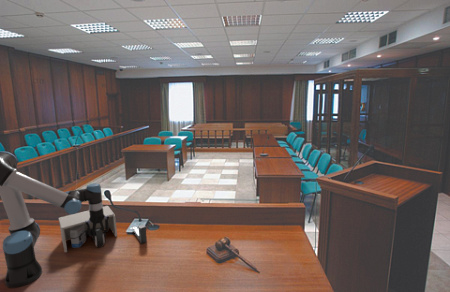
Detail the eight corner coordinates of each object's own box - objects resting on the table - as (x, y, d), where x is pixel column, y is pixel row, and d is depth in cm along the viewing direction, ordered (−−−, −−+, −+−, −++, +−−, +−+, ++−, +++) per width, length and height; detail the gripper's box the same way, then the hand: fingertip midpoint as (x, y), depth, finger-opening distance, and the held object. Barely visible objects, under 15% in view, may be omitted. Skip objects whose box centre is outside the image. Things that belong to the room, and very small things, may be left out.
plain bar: (146, 242, 164) (145, 226, 162) (141, 244, 162) (140, 228, 160) (136, 230, 180) (135, 215, 178) (131, 231, 178) (130, 216, 175)
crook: (103, 245, 160) (102, 229, 158) (81, 253, 153) (79, 236, 151) (96, 231, 177) (94, 216, 175) (75, 237, 170) (73, 222, 168)
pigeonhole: (117, 236, 172) (115, 213, 169) (64, 252, 154) (61, 228, 151) (111, 226, 185) (108, 205, 182) (62, 240, 168) (58, 217, 164)
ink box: (79, 247, 159) (77, 230, 157) (71, 247, 160) (69, 230, 157) (86, 240, 168) (84, 223, 166) (79, 240, 168) (77, 223, 166)
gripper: (109, 203, 164) (112, 236, 168) (79, 210, 154) (84, 245, 159) (112, 207, 158) (115, 241, 162) (81, 214, 148) (86, 251, 153)
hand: (99, 243), depth 160 cm, fingers closed on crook, 3 cm apart
